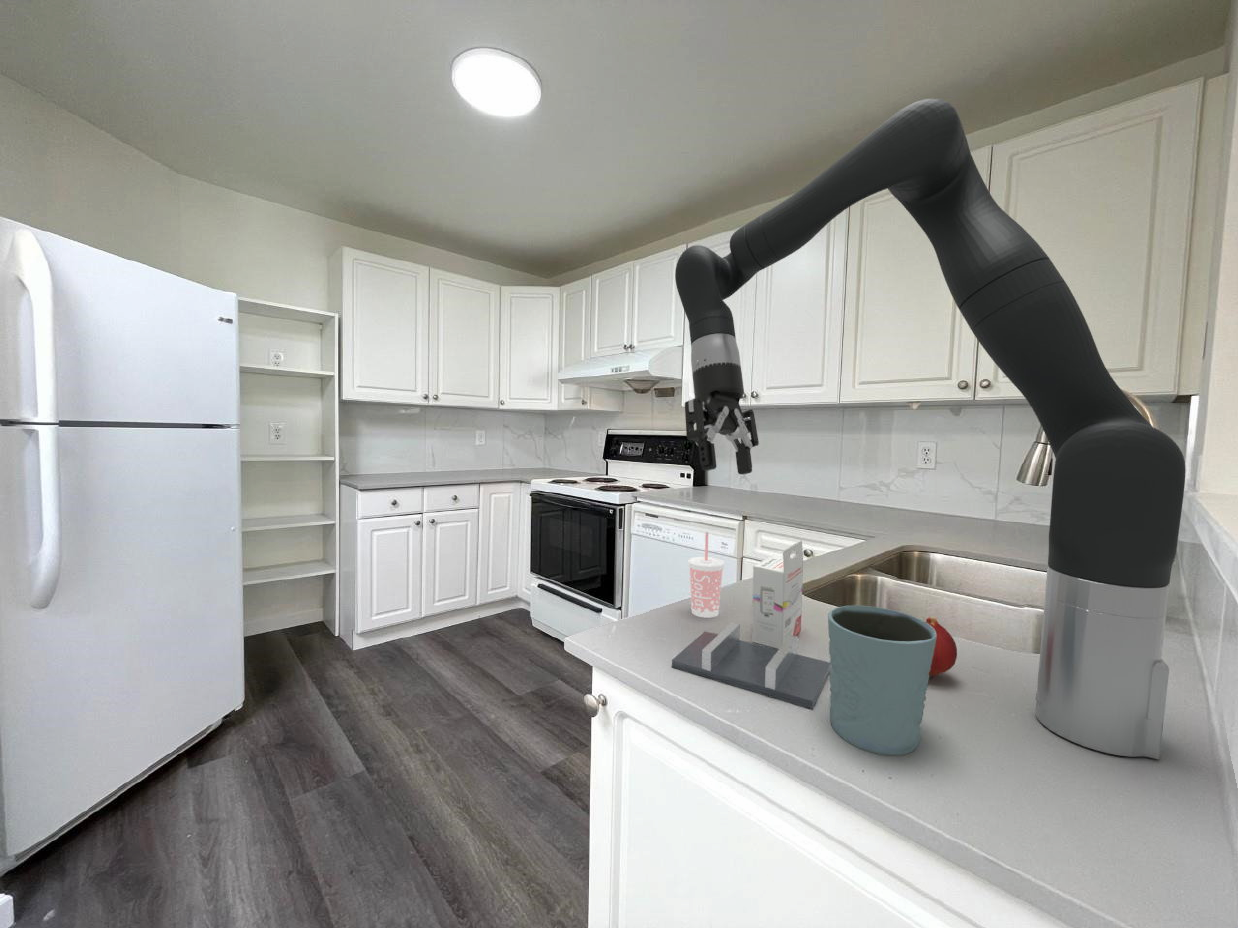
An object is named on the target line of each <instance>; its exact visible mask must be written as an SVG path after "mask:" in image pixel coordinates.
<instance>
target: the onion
mask: <svg viewBox="0 0 1238 928" xmlns="http://www.w3.org/2000/svg"><path fill="white" fill-rule="evenodd" d="M925 620H926V621H925V622H926V623H928V624H929V625H930V626H932V627H933V628H934V629H935V631H936V634H937V638H936V644H935V649H934V654H933V659H932V663H931V669H930V672H929V678H932V677H935V676H938V675H941V674H944V673H946V672H948V671H950V670H951V669H952V667H954V665H955V664H956V661H957V658H958V648H957V643H956V641H955V639H954V638H953V636H952V635H951V634H950V633H949V632H948V630H947V629H946V628H945V627H944V626H942V625H941V624H940V623H939V622H938V620H937V618H936V617H934V616H929V617H927V618H926V619H925Z"/></svg>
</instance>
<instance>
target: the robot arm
mask: <svg viewBox="0 0 1238 928" xmlns="http://www.w3.org/2000/svg"><path fill="white" fill-rule="evenodd" d="M884 190H887V191H889V193H890V194H891V195H892V196H893V197H894V198H895V199H896V200H897V201H898V202H899V203H901V205H902V206H903V207H904V208H905V210H906V211H907V212H908V213H909V215H911V217H912V218H913V219H914V221H915V222H916V223H917V224H918V226H919V227H920V228H921V230H922V231H923V233H924V234H925V235H926V237H927V239H928V240H929V242H930V243H931V245H932V247H933V249H934V253H935V254H936V258H937V260H938V263H939V265H940V266H939V267H940V269H941V272H942V275H943V277H944V278H943V279H944V281H945V283H946V285H947V288H948V290H949V292H950V295H951V296H952V298H953V301H954V303H955V304H956V306H957V308H958V310H959V311H960V313H961V315H962V317H963V319H964V320H965V322H966V323H967V325H968V327H969V329H970V330H971V332H972V334H973V335H974V337H975V338H976V340H977V341H978V342H979V344H980V345H981V346H982V348H983V350H984V351H985V353H986V354H988V356H989V357H990V359H991V360H992V361H993V362H994V364H995V365H996V366H997V367H998V368H999V369H1000V371H1001V372H1002V373H1003V374H1004V375H1005V376H1006V377H1007V378H1008V380H1009V381H1010V382H1011V383H1012V384H1013V385H1014V386H1015V387H1016V388H1017V390H1018V391H1019V392H1020V394H1021V395H1022V397H1024V398H1025V399H1026V402H1027V403H1028V405H1029V406H1030V407H1031V409H1032V410H1033V412H1034V414H1035V416H1036V417H1037V420H1038V422H1039V424H1040V426H1041V428H1042V431H1043V433H1044V435H1045V436H1046V439H1047V442H1048V443H1049V446H1050V448H1051V449H1052V452H1053V455H1054V458H1055V462H1054V468H1053V469H1054V470H1053V477H1052V478H1053V479H1052V489H1051V492H1052V493H1051V505H1050V515H1049V516H1050V517H1049V529H1048V556H1047V558H1048V559H1047V570H1046V578H1045V579H1046V580H1045V594H1044V605H1043V614H1042V615H1043V616H1042V627H1041V638H1040V640H1041V641H1040V649H1039V651H1040V652H1039V663H1038V664H1039V665H1038V675H1037V687H1036V695H1035V716H1036V718H1037V720H1038V721H1039V723H1041V724H1042V725H1043V726H1045V727H1046V728H1047V729H1048V730H1049V731H1051V732H1053V733H1055V734H1056V735H1058V736H1060V737H1062V738H1064V739H1066V740H1067V741H1070V742H1072V743H1075V744H1077V745H1080V746H1082V747H1085V748H1088V749H1091V750H1094V751H1097V752H1101V753H1105V754H1111V755H1116V756H1120V757H1121V756H1122V757H1130V758H1131V757H1146V758H1150V759H1151V758H1152V759H1155V760H1160V757H1161V751H1162V750H1161V749H1162V740H1163V731H1164V722H1165V721H1164V720H1165V712H1166V705H1167V704H1166V702H1167V696H1168V695H1167V693H1168V684H1169V676H1170V675H1169V674H1170V667H1169V665H1168V663H1166V662H1165V661H1164V659H1163V657H1162V656H1163V647H1164V646H1163V645H1164V638H1165V630H1166V629H1165V626H1166V621H1167V620H1166V619H1167V618H1166V617H1167V611H1168V610H1167V609H1168V599H1169V592H1170V590H1169V589H1170V582H1171V574H1172V570H1173V569H1172V568H1173V564H1174V561H1175V559H1176V555H1177V550H1178V549H1177V548H1178V541H1179V533H1180V526H1181V518H1182V511H1183V502H1184V494H1185V485H1186V469H1187V468H1186V460H1185V457H1184V455H1183V452H1182V450H1181V448H1180V447H1179V445H1178V444H1177V443H1176V441H1174V439H1172V438H1171V436H1169V435H1168V434H1166V433H1165V432H1163V431H1161V430H1160V429H1158V428H1155V427H1154V426H1153V425H1152V424H1151V423H1150V422H1149V421H1148V419H1146V418H1145V416H1144V415H1143V414H1142V413H1141V412H1140V411H1139V410H1138V409H1137V408H1136V406H1135V405H1134V404H1133V402H1132V401H1131V400H1130V399H1129V398H1128V397H1127V395H1126V394H1125V393H1124V391H1123V390H1122V389H1121V388H1120V386H1119V385H1118V384H1117V383H1116V381H1115V380H1114V378H1113V377H1112V376H1111V374H1110V372H1109V371H1108V369H1107V367H1106V366H1105V364H1104V361H1103V360H1102V357H1101V355H1100V352H1099V350H1098V347H1097V345H1096V341H1095V339H1094V337H1093V334H1092V332H1091V330H1090V328H1089V325H1088V322H1087V320H1086V318H1085V316H1084V314H1083V311H1082V308H1081V307H1080V305H1079V303H1078V301H1077V300H1076V298H1075V296H1074V294H1073V292H1072V291H1071V289H1070V286H1069V285H1068V283H1067V282H1066V281H1065V280H1064V277H1063V276H1062V275H1061V273H1060V272H1059V270H1058V269H1057V268H1056V266H1055V264H1054V263H1053V261H1052V260H1051V258H1050V257H1049V256H1048V254H1047V253H1046V252H1045V251H1044V248H1042V247H1041V245H1039V243H1038V242H1037V241H1036V240H1035V239H1034V238H1033V237H1032V236H1031V234H1029V233H1028V232H1027V230H1026V229H1024V228H1023V226H1021V224H1019V223H1018V222H1017V221H1015V219H1013V218H1012V217H1011V216H1010V215H1009V214H1007V213H1006V211H1004V210H1003V209H1002V208H1001V206H999V204H998V203H997V202H996V200H995V199H994V197H993V196H992V194H991V193H990V191H989V189H988V188H987V184H985V181H984V179H983V178H982V175H981V174H980V171H979V169H978V167H977V165H976V162H975V161H974V158H973V155H972V153H971V149H970V146H969V143H968V139H967V136H966V133H965V129H964V127H963V123H962V121H961V118H960V116H959V114H958V112H957V110H956V108H955V107H954V106H953V105H952V104H951V103H950V102H948V101H946V100H945V99H940V98H925V99H922V100H921V99H920V100H918V101H915V102H913V103H911V104H909V105H907V106H905V107H904V108H901V109H900V110H899V111H897V112H896V113H894V114H893V115H891V117H889V118H888V119H887V120H885V121H884V122H882V123H881V124H880V125H879V126H878V127H876V129H874V130H873V131H872V132H870V133H869V134H868V135H867V136H866V137H864V138H863V139H862V140H861V141H859V143H857V144H856V145H855V146H853V148H851V149H850V150H849V151H848V152H846V153H845V154H844V155H843V156H841V157H840V158H839V159H837V161H835V162H834V163H833V164H831V165H830V166H829V167H828V168H826V169H825V170H824V171H822V173H821V172H820V173H819V175H818V176H816V177H815V178H814V179H812V180H811V181H810V182H809V183H807V184H805V185H804V186H803V187H802V188H801V189H799V190H798V191H796V192H795V193H794V194H792V195H790V196H789V197H788V198H786V199H785V200H783V201H782V202H780V203H778V204H777V205H775V206H774V207H772V208H771V209H769V210H767V211H765V212H764V213H762V214H761V215H759V216H757V217H756V218H754V219H752V220H750V221H749V222H748V223H746V224H744V225H743V226H741V227H739V228H738V229H737V230H736V231H734V232H733V234H732V235H731V236H730V239H729V249H730V253H728V254H727V255H725V256H723V257H721V256H720V255H718V254H717V253H716V252H715V251H713V250H712V249H710V248H709V247H707V246H705V245H701V244H700V245H699V244H696V245H692V246H690V247H688V248H686V249H685V250H684V251H683V252H682V253H681V254H680V256H679V258H678V260H677V263H676V266H675V272H674V273H675V274H674V276H675V284H676V289H677V294H678V297H679V299H680V303H681V304H682V305H681V306H682V307H683V311H684V314H685V316H686V318H687V320H688V330H689V338H690V365H691V372H692V373H691V374H692V382H693V383H692V385H693V390H694V391H693V393H694V398H691V399H690V400H687V401H685V402H684V413H685V414H684V415H685V433H686V439H687V440H689V441H693V442H695V444H696V446H697V447H698V454H699V463H700V465H701V470H702V471H707V472H709V471H712V470H716V468H717V460H716V459H717V458H716V457H717V456H716V450H715V449H716V448H715V443H713V442H714V439H715V437H716V434H720V435H722V436H725V438H726V440H727V441H728V442H731V444H732V446H733V447H734V449H735V461H736V467H737V473H738V474H739V475H744V476H745V475H747V474H751V473H752V472H753V463H752V455H751V449H753V447H754V448H755V447H757V446H759V444H760V443H759V435H758V430H757V423H756V417H755V412H754V410H753V409H747V410H742V409H741V408H742V407H741V405H740V400H741V399H742V398H743V396H744V395H745V389H744V380H743V373H742V366H741V356H740V351H739V347H738V344H737V339H736V338H737V337H736V330H735V329H736V328H735V321H734V315H733V313H732V311H731V308H730V306H729V305H727V303H726V302H725V301H724V300H726V299H728V298H730V297H731V296H733V295H734V294H735V293H736V292H738V291H739V290H740V289H741V288H742V287H743V286H745V285H746V284H747V283H748V282H749V281H750V280H751V279H752V278H753V277H755V275H756V274H757V273H758V272H760V271H763V270H764V269H766V268H769V267H770V266H772V265H774V264H776V263H778V262H779V261H781V260H783V259H785V258H787V257H788V256H790V255H792V254H794V253H796V252H797V251H798V250H800V249H801V248H803V247H804V246H805V245H806V244H807V243H809V242H810V241H811V240H813V239H814V237H816V235H817V234H818V233H820V232H821V231H822V229H824V228H825V227H826V226H827V225H828V224H829V223H830V222H831V221H832V220H833V219H835V218H836V217H837V216H838V215H840V214H841V213H842V212H844V211H845V210H846V209H848V208H850V207H852V206H853V205H855V204H856V203H859V202H860V201H862V200H864V199H866V198H868V197H870V196H873V195H874V194H878V193H880V192H882V191H884ZM695 426H696V427H695ZM695 428H696V429H695ZM737 429H738V430H737ZM748 434H750V437H749V435H748ZM739 439H740V440H739Z"/></svg>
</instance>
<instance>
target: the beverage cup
mask: <svg viewBox="0 0 1238 928" xmlns="http://www.w3.org/2000/svg"><path fill="white" fill-rule="evenodd" d="M704 536H705V537H704V542H705V544H704V556H694V557H691V558H689V559H688V560H687V562H688V565H687V566H688V567H689V580H690V583H689V584H690V586H689V587H690V606H691V613H692V615H694V616H695V617H700V618H705V619H706V618H709V619H710V618H715V617H717V616H719V615H720V613H719V612H720V611H719V610H720V601H721V589H722V581H723V580H722V578H723V570H724V568H725V561H724V560H723V559H720V558H717V557H711V556H709V532H708V531H706V532H705V535H704Z"/></svg>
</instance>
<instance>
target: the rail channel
mask: <svg viewBox="0 0 1238 928" xmlns="http://www.w3.org/2000/svg"><path fill="white" fill-rule="evenodd" d="M671 667H672V668H674V669H676V670H680V671H683V672H687V673H691V674H694V675H696V676H700V677H703V678H707V679H710V680H714V681H717V682H720V683H723V684H727V685H730V686H733V687H737V688H740V689H743V690H746V691H751V692H753V693H756V694H760V695H762V696H763V695H764V696H767V697H770V698H774V699H776V700H780V701H784V702H786V703H789V704H794V705H796V706H800V707H804V708H807V709H810V710H813V709H814V707H815V705H816V703H817V700H818V698H819V697H820V694H821V691H822V690H823V688H824V685H825V683H826V681H827V679H828V676H830V668H831V663H830V661H825V660H822V659H817V658H814V657H809V656H804V655H802V654H799V636H797V635H796V636H792V635H789V636H788V638H787V639H786V640H785V642H784V643H783V644H782V646H781V647H780V648H779V649H777V648H773V647H769V646H766V645H762V644H759V643H755V642H753V643H752V642H749V641H745V640H741V623H739V622H736V621H735V622H734V621H731V622H730V624H728V625H727V626H726V627H725V628H724V629H723V630H722V631H720V632H719V634H717V633H713V632H710V631H703V632H702V633H701V634H700V635H699V636H698V637H696V638H695V639H694V640H693V641H691V643H689V644H688V645H687V646H686V647H685V648H684V649H683V650H682V651H681V652H679V653H678V654H677V655H676V656H675V657H674V658H672V659H671Z"/></svg>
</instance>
